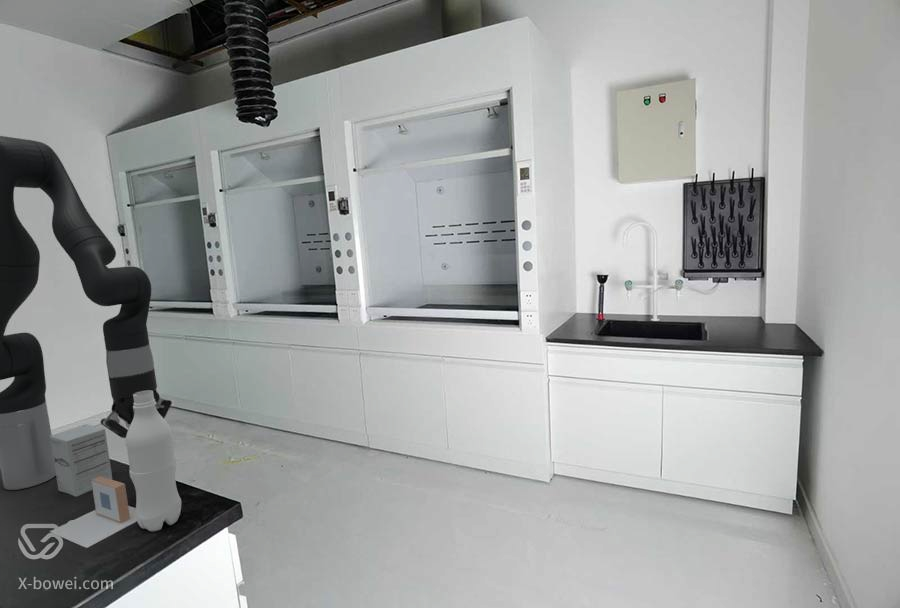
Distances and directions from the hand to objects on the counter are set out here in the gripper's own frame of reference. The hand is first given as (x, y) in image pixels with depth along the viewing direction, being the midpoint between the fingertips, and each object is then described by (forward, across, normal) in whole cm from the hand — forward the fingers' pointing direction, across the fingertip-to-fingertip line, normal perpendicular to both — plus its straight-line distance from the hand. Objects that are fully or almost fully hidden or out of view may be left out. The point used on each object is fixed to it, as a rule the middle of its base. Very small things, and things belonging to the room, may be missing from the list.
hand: (144, 454), depth 95 cm
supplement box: (+10, +2, -19) cm, 22 cm away
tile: (+9, +7, 0) cm, 12 cm away
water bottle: (+10, +4, +10) cm, 15 cm away
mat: (+10, +9, 0) cm, 13 cm away
